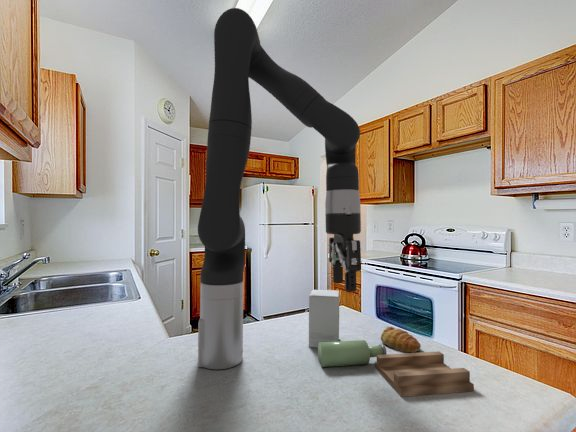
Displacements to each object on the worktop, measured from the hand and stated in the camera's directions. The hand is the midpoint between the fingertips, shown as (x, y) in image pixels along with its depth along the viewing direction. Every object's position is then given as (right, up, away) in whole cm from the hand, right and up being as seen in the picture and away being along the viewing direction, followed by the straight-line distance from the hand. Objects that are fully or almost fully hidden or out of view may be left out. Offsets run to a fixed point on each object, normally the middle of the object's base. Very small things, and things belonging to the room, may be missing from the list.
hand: (343, 286), depth 67 cm
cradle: (+14, -16, -7) cm, 22 cm away
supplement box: (-3, -17, +11) cm, 21 cm away
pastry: (+16, -17, +10) cm, 25 cm away
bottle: (+2, -17, 0) cm, 17 cm away
